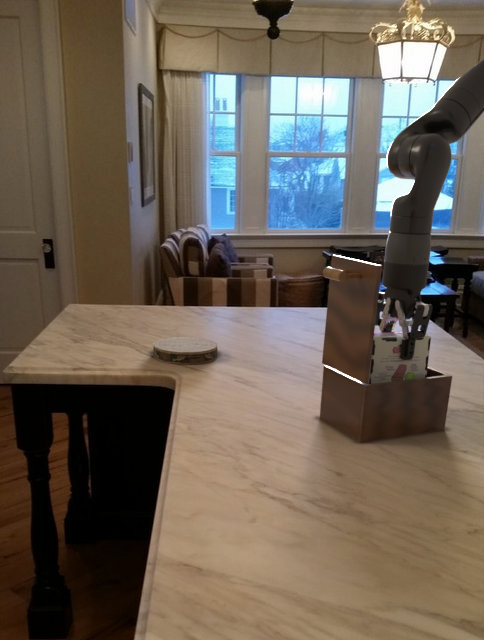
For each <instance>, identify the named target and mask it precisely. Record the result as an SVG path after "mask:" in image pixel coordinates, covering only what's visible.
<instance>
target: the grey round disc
mask: <svg viewBox="0 0 484 640" xmlns="http://www.w3.org/2000/svg"><path fill="white" fill-rule="evenodd" d="M152 351H153V358H154V359H155V360H157V361H159V362H162V363H165V364H166V363H167V364H171V365H201V364H207V363H211V362H213V361H215V360H217V359H218V343H217V342H216V341H214V340H212V339H209V338H203V337H193V336H173V337H166V338H161V339H157V340H156V341H154V342H153V350H152Z"/></svg>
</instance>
